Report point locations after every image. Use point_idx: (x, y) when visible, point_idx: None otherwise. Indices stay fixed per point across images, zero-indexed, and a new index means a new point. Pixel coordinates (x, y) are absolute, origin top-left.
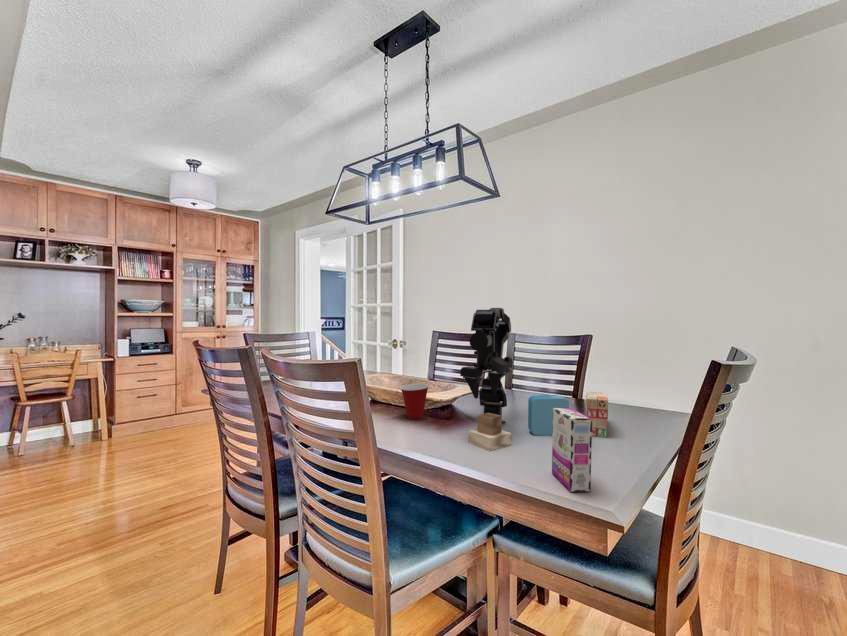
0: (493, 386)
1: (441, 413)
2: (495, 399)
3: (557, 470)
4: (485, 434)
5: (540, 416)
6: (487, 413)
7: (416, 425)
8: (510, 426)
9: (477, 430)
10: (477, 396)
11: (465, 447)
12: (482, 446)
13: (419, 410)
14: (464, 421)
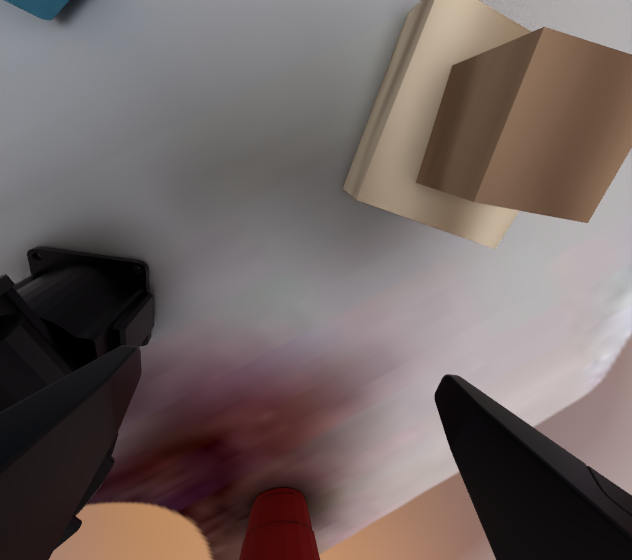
0: (72, 462)
1: (166, 488)
2: (45, 351)
3: None
4: None
5: None
6: (505, 190)
7: (355, 456)
8: (73, 189)
9: (472, 215)
10: (469, 386)
11: None
12: None
13: (292, 521)
14: (192, 390)
